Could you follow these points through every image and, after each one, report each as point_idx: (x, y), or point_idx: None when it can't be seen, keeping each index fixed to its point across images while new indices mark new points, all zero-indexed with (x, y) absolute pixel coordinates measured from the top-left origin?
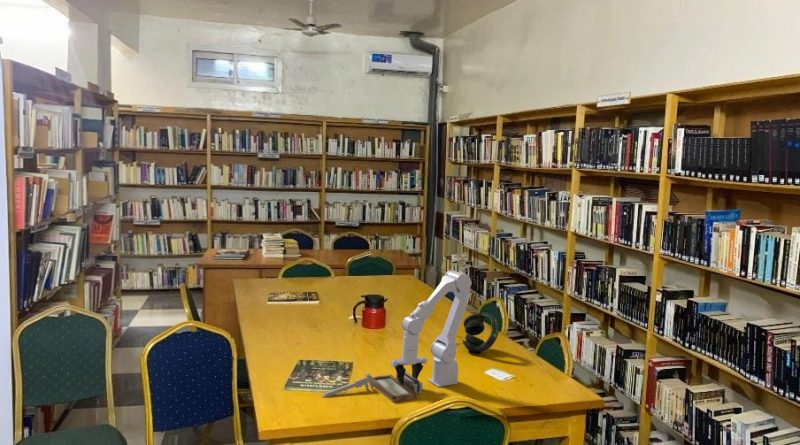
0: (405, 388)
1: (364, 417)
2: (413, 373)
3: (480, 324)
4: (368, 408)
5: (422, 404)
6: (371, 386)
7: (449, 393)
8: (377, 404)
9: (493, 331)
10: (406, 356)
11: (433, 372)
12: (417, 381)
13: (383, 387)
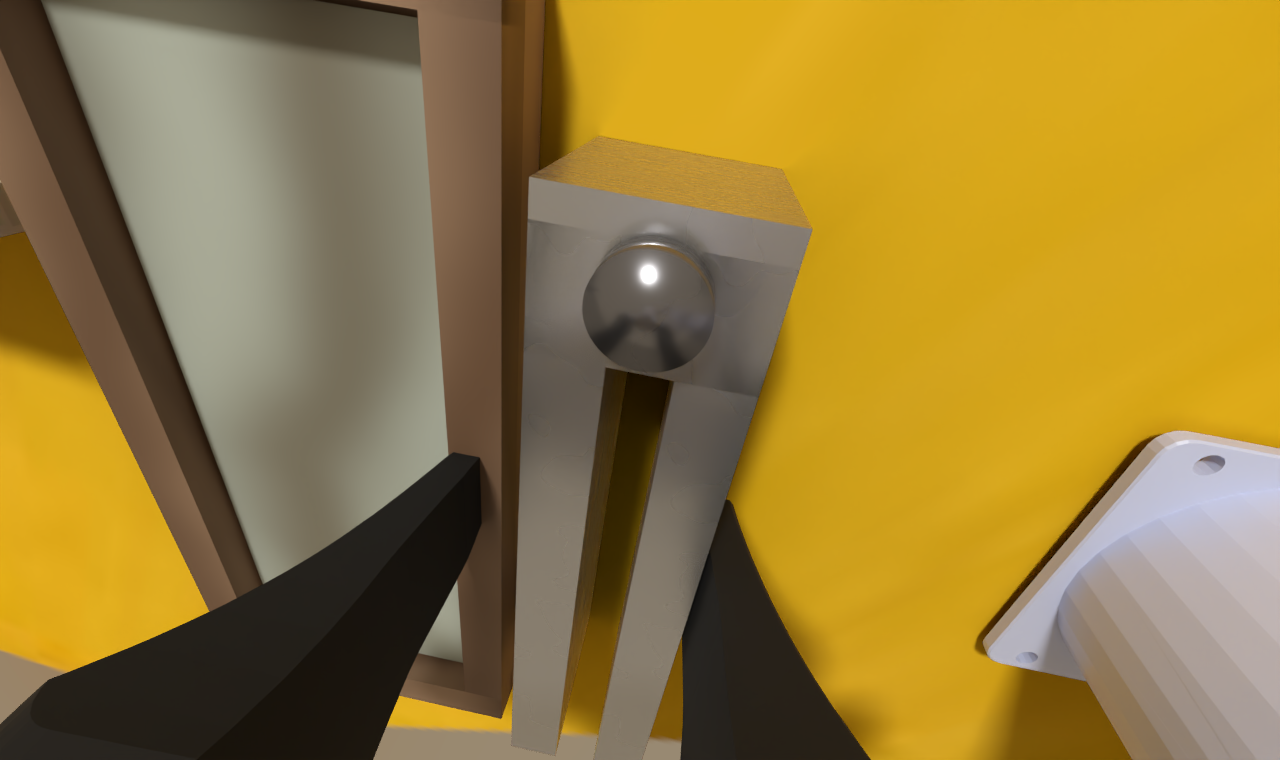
0: (463, 591)
1: (10, 638)
2: (705, 657)
3: None
4: (36, 572)
5: (508, 730)
6: (10, 224)
7: (907, 751)
8: (121, 564)
9: None
10: None
11: (1226, 718)
12: (610, 727)
13: (157, 452)
